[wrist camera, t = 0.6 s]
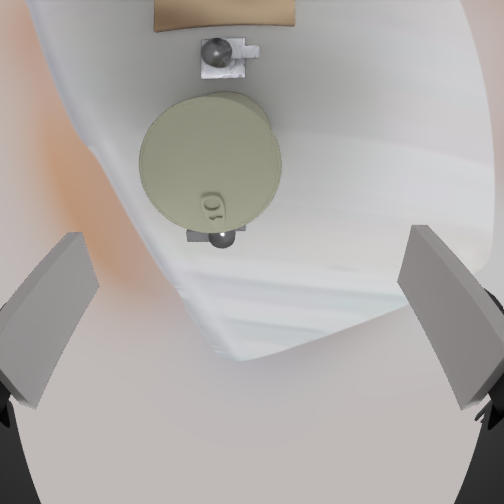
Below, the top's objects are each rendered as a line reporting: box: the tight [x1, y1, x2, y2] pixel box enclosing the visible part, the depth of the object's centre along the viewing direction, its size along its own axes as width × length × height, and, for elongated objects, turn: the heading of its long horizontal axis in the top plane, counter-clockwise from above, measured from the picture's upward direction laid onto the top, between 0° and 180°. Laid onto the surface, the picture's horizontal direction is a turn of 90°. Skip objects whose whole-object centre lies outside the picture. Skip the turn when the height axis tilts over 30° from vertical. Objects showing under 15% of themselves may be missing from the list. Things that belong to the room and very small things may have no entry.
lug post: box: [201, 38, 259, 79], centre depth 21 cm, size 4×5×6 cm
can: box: [139, 92, 282, 233], centre depth 23 cm, size 9×9×12 cm
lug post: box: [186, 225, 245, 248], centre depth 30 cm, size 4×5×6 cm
